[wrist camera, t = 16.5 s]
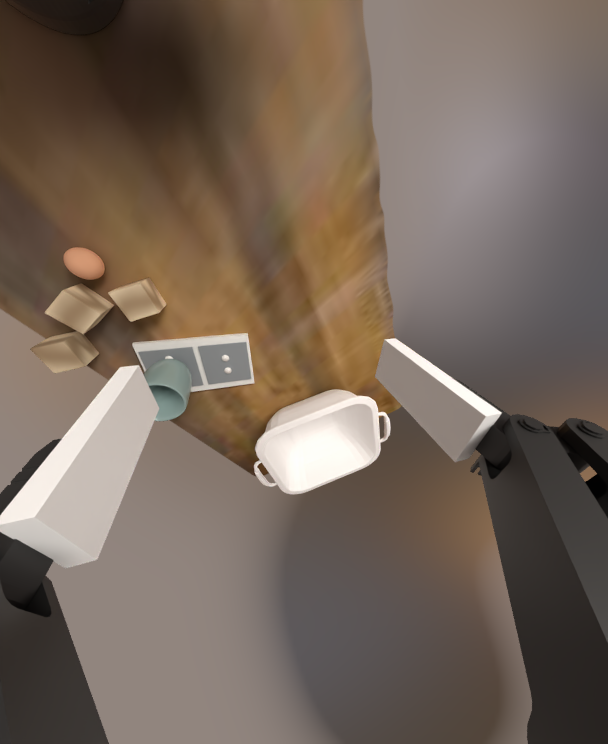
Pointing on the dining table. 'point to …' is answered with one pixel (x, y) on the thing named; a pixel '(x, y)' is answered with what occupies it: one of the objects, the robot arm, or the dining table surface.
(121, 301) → the block
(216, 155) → the dining table surface
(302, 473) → the baking dish
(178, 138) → the dining table surface
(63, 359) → the block
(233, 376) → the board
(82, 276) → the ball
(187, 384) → the cup
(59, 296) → the block
